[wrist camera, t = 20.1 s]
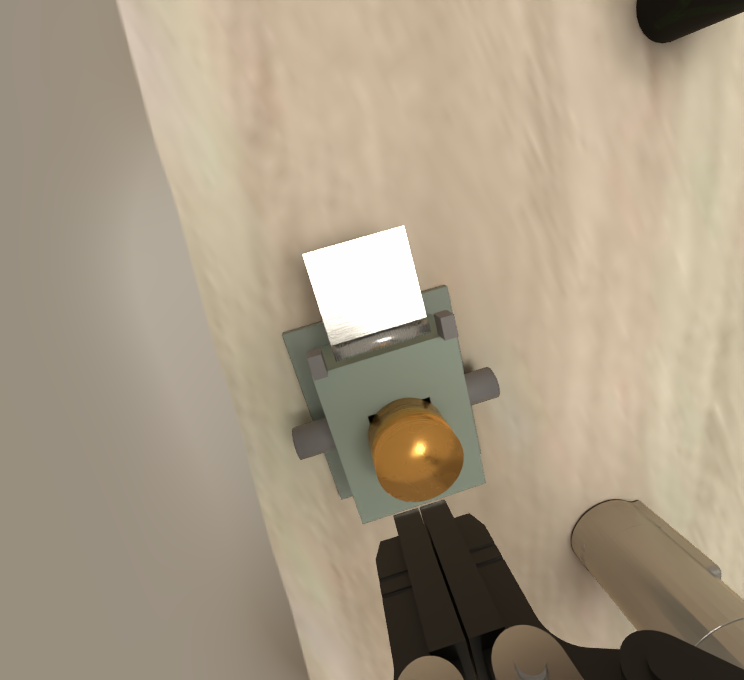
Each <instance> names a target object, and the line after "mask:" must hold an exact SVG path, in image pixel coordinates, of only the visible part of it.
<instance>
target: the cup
mask: <svg viewBox="0 0 744 680" xmlns="http://www.w3.org/2000/svg"><path fill="white" fill-rule="evenodd" d="M636 8H637V18H638V22H639V25H640V27H641V29H642V31H643V33H644V34H645V35H646V36H647V37H648V38H649V39H651V40H653V41H654V42H658V43H666V42H671V41H673V40H676V39H678V38H681V37H683V36H685V35H688V34H690V33H693V32H695V31H698V30H700V29H703V28H705V27H707V26H710V25H712V24H715V23H717V22H720V21H722V20H725V19H727V18H730V17H732V16H734V15H737V14H739V13H742V12H744V0H637V6H636Z"/></svg>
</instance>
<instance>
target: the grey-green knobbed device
mask: <svg viewBox="0 0 744 680" xmlns="http://www.w3.org/2000/svg"><path fill="white" fill-rule="evenodd" d="M421 296H422V300H423V304H424V308H425V312H426V316H427V317H425V318H427V320H428V322H429V325H430V330H431V333H430V334H427V335H424V336H420V337H417V338H414V339H410V340H407V341H404V342H401V343H397V344H394V345H391V346H387V347H384V348H381V349H378V350H374V351H371V352H368V353H364V354H361V355H358V356H355V357H351V358H348V359H345V360H341V361H338V362H336V361H335V358H334V354H333V351H332V347H331V344H330V341H329V338H328V335H327V332H326V328H325V325H324V322H323V321H321V322H317V323H314V324H310V325H307V326H304V327H300V328H297V329H294V330H290V331H287V332H283V334H282V336H283V339H284V341H285V344H286V347H287V350H288V353H289V355H290V358H291V361H292V364H293V367H294V369H295V372H296V375H297V378H298V380H299V383H300V386H301V389H302V392H303V394H304V397H305V400H306V403H307V406H308V408H309V411H310V414H311V417H312V419H313V422H310V423H307V424H303V425H300V426H297V427H294V428H293V429H292V436H293V442H294V446H295V449H296V452H297V454H298V457H299V458H300V459H301V460H302V459H305V458H308V457H312V456H315V455H318V454H321V453H325V456H326V458H327V461H328V464H329V467H330V470H331V472H332V475H333V478H334V481H335V483H336V486H337V489H338V492H339V495H340V497H341V500H342V499H345V498H348V497H351V496H353V497H354V500H355V503H356V506H357V509H358V512H359V515H360V517H361V520H362V523H363V524H365V523H368V522H371V521H374V520H377V519H380V518H383V517H386V516H389V515H392V514H395V513H398V512H401V511H404V510H407V509H410V508H413V507H416V506H419V505H422V504H425V503H428V502H431V501H434V500H437V499H440V498H443V497H446V496H449V495H452V494H455V493H458V492H461V491H464V490H467V489H470V488H473V487H476V486H479V485H482V484H485V483H486V480H485V475H484V470H483V465H482V460H481V455H480V454H481V451H480V446H479V441H478V436H477V431H476V426H475V421H474V416H473V411H472V406H471V405H474V404H478V403H481V402H484V401H487V400H490V399H493V398H496V397H499V395H500V389H499V384H498V381H497V379H496V376H495V375H494V373H493V371H492V370H491V369H490V368H489V367H485V368H482V369H479V370H476V371H473V372H469V373H466V374H465V371H464V366H463V361H462V356H461V351H460V346H459V341H458V332H457V327H456V322H455V317H454V314H453V312H452V307H451V302H450V297H449V292H448V287H447V286H446V285H442V286H439V287H435V288H432V289H429V290H425V291H422V292H421ZM421 319H422V318H421ZM418 320H419V319H418ZM411 322H412V321H411ZM408 323H409V322H408ZM401 325H402V324H401ZM398 326H399V325H398ZM391 328H392V327H391ZM388 329H389V328H388ZM381 331H382V330H381ZM378 332H379V331H378ZM371 334H372V333H371ZM368 335H369V334H368ZM365 336H366V335H365ZM361 337H362V336H361ZM358 338H359V337H358ZM355 339H356V338H355ZM351 340H352V339H351ZM348 341H349V340H348ZM345 342H346V341H345ZM338 344H339V343H338ZM335 345H336V344H335ZM402 398H419V399H423V400H425V401H428V402H429V403H431V404H433V405H434V406H435V407H436V408H437V409H438V410H439V412H440V413H441V415H442V416H443V418H444V419H445V420H446V422H447V423H448V425H449V426H450V428H451V429H452V431H453V432H454V433H455V435H456V436H457V438H458V439H459V441H460V443H461V445H462V448H463V453H464V462H463V467H462V470H461V472H460V475H459V476H458V478H457V480H456V481H455V482H454V484H453V485H452V486H451V487H450V488H449V489H447V490H446V491H445V492H444V493H442V494H441V495H439V496H437V497H435V498H432V499H429V500H426V501H420V502H407V501H402V500H399V499H397V498H394V497H393V496H391V495H389V494H388V493H387V492H386V491H385V490H384V489H383V488H382V486H381V485H380V483H379V481H378V478H377V474H376V470H375V467H374V463H373V459H372V455H371V451H370V447H369V443H368V430H369V426H370V424H371V422H372V420H373V418H374V416H375V414H377V413H378V412H379V410H381V409H382V408H383V407H384V406H386V405H387V404H389V403H391V402H393V401H395V400H398V399H402Z"/></svg>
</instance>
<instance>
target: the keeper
mask: <svg viewBox="0 0 744 680" xmlns="http://www.w3.org/2000/svg"><path fill="white" fill-rule="evenodd" d="M302 255H303V258H304V261H305V264H306V268H307V271H308V274H309V277H310V280H311V284H312V287H313V290H314V293H315V296H316V300H317V303H318V306H319V309H320V312H321V316H322V319H323V322H324V325H325V328H326V332H327V335H328V338H329V341H330V344H331V347H332V351H333V354H334V358H335V361H336V362H338V361H341V360H345V359H348V358H351V357H355V356H358V355H361V354H364V353H368V352H371V351H374V350H378V349H381V348H384V347H387V346H391V345H394V344H397V343H401V342H404V341H407V340H410V339H414V338H417V337H420V336H424V335H427V334H430V333H431V330H430V325H429V322H428V320H427V318H425V317H427V316H426V312H425V308H424V304H423V300H422V296H421V292H420V288H419V284H418V280H417V276H416V272H415V268H414V264H413V260H412V256H411V252H410V248H409V244H408V240H407V236H406V232H405V228H404V226H400V227H397V228H393V229H390V230H386V231H383V232H379V233H376V234H372V235H369V236H365V237H362V238H358V239H355V240H351V241H347V242H344V243H340V244H337V245H333V246H330V247H326V248H323V249H319V250H316V251H312V252H309V253H305V254H302ZM421 318H422V319H421ZM418 319H419V320H418ZM411 321H412V322H411ZM408 322H409V323H408ZM401 324H402V325H401ZM398 325H399V326H398ZM391 327H392V328H391ZM388 328H389V329H388ZM381 330H382V331H381ZM378 331H379V332H378ZM371 333H372V334H371ZM368 334H369V335H368ZM365 335H366V336H365ZM361 336H362V337H361ZM358 337H359V338H358ZM355 338H356V339H355ZM351 339H352V340H351ZM348 340H349V341H348ZM345 341H346V342H345ZM338 343H339V344H338ZM335 344H336V345H335Z"/></svg>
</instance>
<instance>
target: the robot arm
mask: <svg viewBox="0 0 744 680" xmlns="http://www.w3.org/2000/svg"><path fill="white" fill-rule="evenodd" d="M420 511H421V515H422V517H421V515H420V512H419V509H418V508H416V509H413V510H409V511H406V512H403V513H400V514H397V515H393V516H394V520H395V524H396V528H397V531H398V535H399V536H397V537H393V538H390V539H387V540H384V541H381V542H380V545H379V549H378V553H377V557H376V564H377V570H378V576H379V581H380V588H381V594H382V598H383V599H382V600H383V605H384V611H385V617H386V623H387V629H388V635H389V641H390V646H391V652H392V658H393V665H394V680H744V600H743V599H742V598H741V597H740V596H739V595H738V594H737V593H735V592H734V591H733V590H732V589H731V588H730V587H728V586H727V585H726V584H725V583H724V582H723V581H722V580H721V570H720V568H719V567H718V565H717V564H715V563H714V562H713V561H712V560H711V559H709V558H708V557H707V556H706V555H705V554H703V553H702V552H701V551H700V550H698V549H697V548H696V547H695V546H694V545H692V544H691V543H690V542H689V541H688V540H686V539H685V538H684V537H683V536H682V535H680V534H679V533H678V532H677V531H676V530H674V529H673V528H672V527H671V526H670V525H668V524H667V523H666V522H665V521H664V520H662V519H661V518H660V517H659V516H658V515H656V514H655V513H654V512H653V511H652V510H650V509H649V508H648V507H647V506H646V505H644V504H643V503H642V502H641V501H636V502H627V501H624V500H612V501H607V502H604V503H601V504H599V505H597V506H595V507H594V508H592V509H591V510H590V511H588V512H587V513H586V514H585V515H584V516H583V517H582V518H581V519H580V521H579V522H578V523H577V525H576V527H575V529H574V531H573V535H572V547H573V550H574V552H575V554H576V555H577V556H578V558H579V559H580V560H581V561H582V563H583V564H584V566H585V567H586V568H587V569H588V571H590V573H591V574H592V575H593V576H594V577H595V579H596V580H597V581H598V582H599V584H600V585H601V586H602V588H603V589H604V590H605V591H606V592H607V594H608V595H609V596H610V597H611V599H612V600H613V601H614V602H615V604H616V605H617V606H618V607H619V609H620V610H621V611H622V612H623V613H624V615H625V616H626V617H627V618H628V620H629V621H630V622H631V623H632V625H633V626H634V627H635V628H636V630H637V631H636V632H634V633H631V634H630V635H629V636H627V637H626V638H625V640H624V641H623V643H622V645H621V648H620V649H602V648H586V647H579V646H576V645H572V644H570V643H567V642H565V641H563V640H561V639H559V638H557V637H556V636H555V635H553V634H552V633H550V632H549V631H548V630H547V629H546V628H545V627H544V626H543V625H542V624H541V622H540V621H539V620H538V618H537V617H536V615H535V613H534V612H533V610H532V608H531V606H530V604H529V603H528V601H527V599H526V597H525V596H524V594H523V592H522V590H521V589H520V587H519V585H518V583H517V582H516V580H515V578H514V576H513V575H512V573H511V571H510V569H509V567H508V566H507V564H506V562H505V560H503V558H502V555H501V553H500V552H499V550H498V548H497V546H496V545H495V544H494V541H493V539H492V537H491V536H490V534H489V532H488V530H487V529H486V527H485V525H484V524H482V523H481V522H480V521H479V520H477V519H476V518H475V517H473V516H472V515H471V514H470V513H469V514H466V515H462V516H459V517H456V518H453V516H452V514H451V512H450V509H449V507H448V505H447V503H446V501H445V500H441V501H438V502H435V503H431V504H428V505H425V506H422V507H420ZM422 519H423V520H422ZM423 522H424V523H423Z"/></svg>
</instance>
